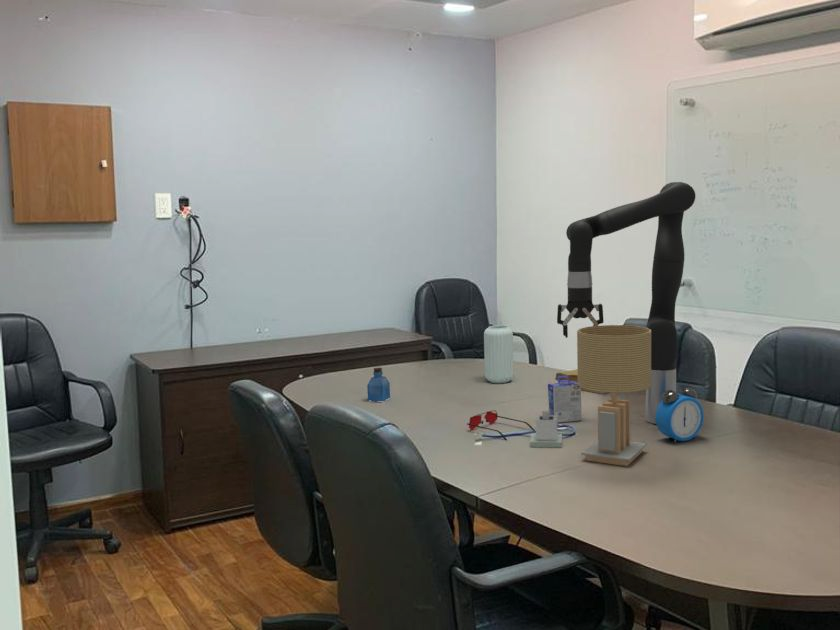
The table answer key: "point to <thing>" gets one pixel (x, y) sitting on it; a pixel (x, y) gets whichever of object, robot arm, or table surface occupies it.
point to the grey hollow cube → (546, 428)
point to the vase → (498, 354)
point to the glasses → (489, 418)
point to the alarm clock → (679, 414)
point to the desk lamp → (614, 384)
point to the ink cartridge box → (565, 400)
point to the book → (574, 377)
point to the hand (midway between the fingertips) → (580, 337)
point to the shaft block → (545, 443)
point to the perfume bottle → (378, 386)
